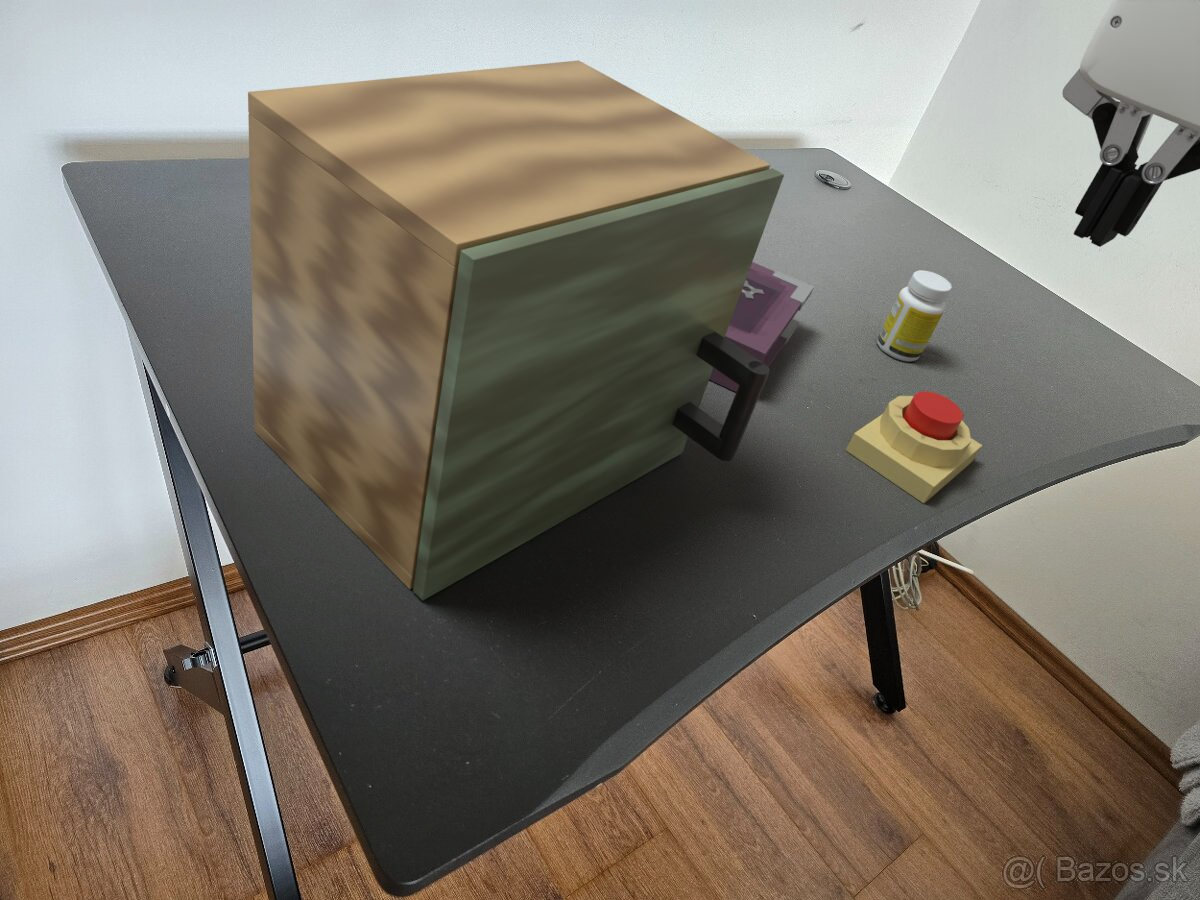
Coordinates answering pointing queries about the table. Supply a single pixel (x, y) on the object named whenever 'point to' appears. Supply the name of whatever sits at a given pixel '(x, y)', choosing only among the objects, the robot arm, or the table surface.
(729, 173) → the cupboard
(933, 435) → the button
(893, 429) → the button block
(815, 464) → the table surface
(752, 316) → the book
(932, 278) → the supplement bottle
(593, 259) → the door
